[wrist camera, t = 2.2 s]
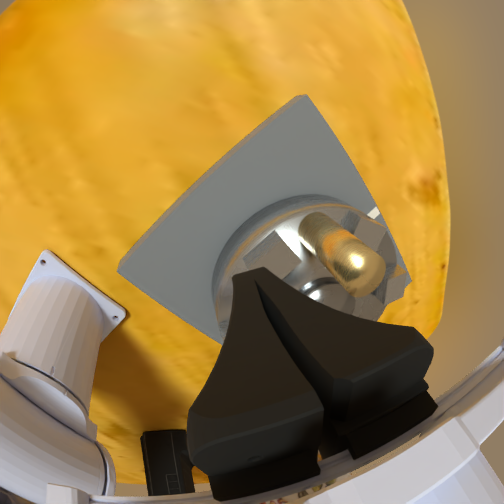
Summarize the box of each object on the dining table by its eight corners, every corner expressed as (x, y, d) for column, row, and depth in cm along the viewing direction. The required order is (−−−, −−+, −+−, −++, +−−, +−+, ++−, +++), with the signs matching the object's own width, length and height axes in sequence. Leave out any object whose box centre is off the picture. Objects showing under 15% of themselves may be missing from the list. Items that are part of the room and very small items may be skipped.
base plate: (284, 372, 28) (289, 383, 26) (120, 260, 18) (116, 272, 16) (402, 273, 26) (412, 281, 24) (296, 95, 16) (307, 94, 14)
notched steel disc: (368, 315, 24) (417, 374, 17) (233, 363, 23) (258, 444, 16) (375, 178, 18) (463, 220, 11) (188, 223, 16) (199, 307, 9)
